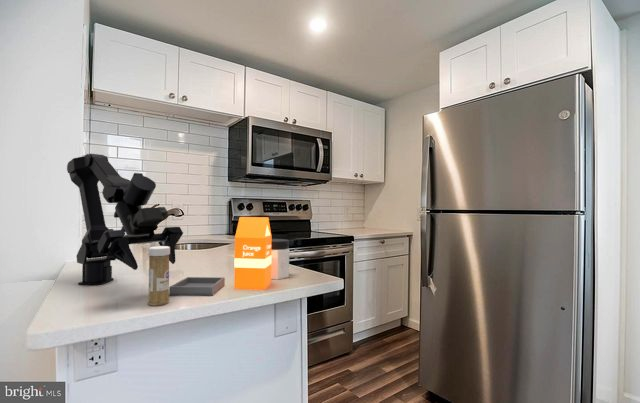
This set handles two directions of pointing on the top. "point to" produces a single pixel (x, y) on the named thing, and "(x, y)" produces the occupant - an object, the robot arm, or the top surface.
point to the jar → (279, 258)
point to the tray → (197, 286)
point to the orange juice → (252, 253)
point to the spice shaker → (158, 275)
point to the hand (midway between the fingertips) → (156, 265)
